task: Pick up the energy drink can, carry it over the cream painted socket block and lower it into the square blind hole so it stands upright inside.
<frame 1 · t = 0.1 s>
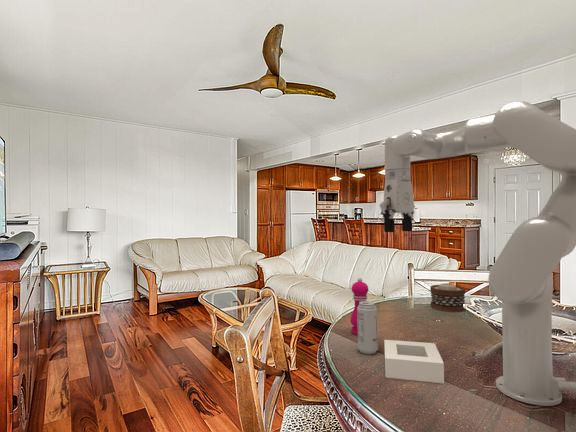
hand: (398, 231, 104), 37 cm above the table, tool pointing down, fingers open, 9 cm apart
pepper mill: (360, 333, 122), on the table
socket block: (411, 368, 92), on the table
energy drink can: (367, 351, 105), on the table
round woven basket: (448, 308, 154), on the table
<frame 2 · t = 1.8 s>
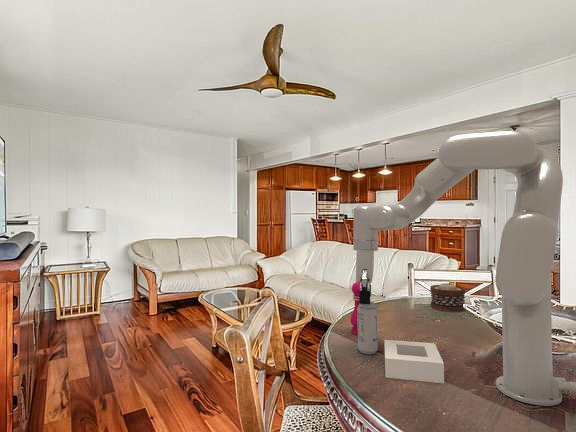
hand: (365, 300, 106), 16 cm above the table, tool pointing down, fingers open, 9 cm apart
nothing on the table moved.
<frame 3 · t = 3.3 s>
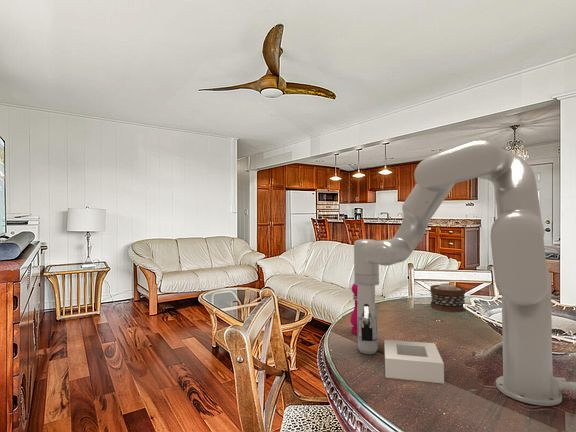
hand: (367, 336, 105), 5 cm above the table, tool pointing down, fingers closed on energy drink can, 6 cm apart
energy drink can: (367, 351, 105), on the table, touching gripper
everything else where it was.
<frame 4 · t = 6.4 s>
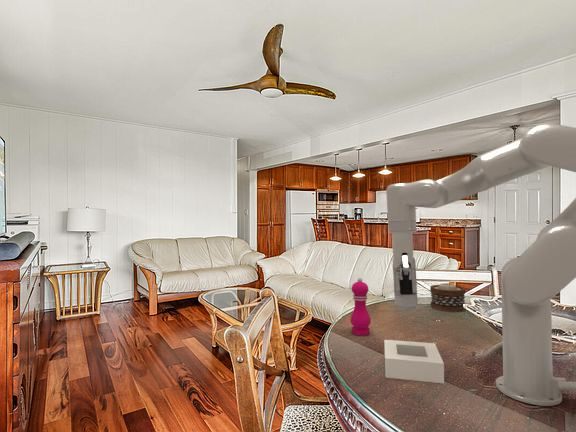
hand: (405, 291, 94), 21 cm above the table, tool pointing down, fingers closed on energy drink can, 6 cm apart
energy drink can: (406, 308, 94), point 16 cm above the table, touching gripper
everything else where it was.
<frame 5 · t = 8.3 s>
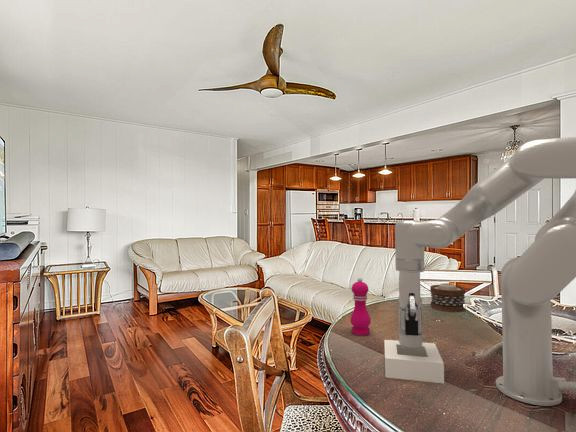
hand: (410, 330, 93), 10 cm above the table, tool pointing down, fingers closed on energy drink can, 6 cm apart
energy drink can: (410, 347, 92), point 6 cm above the table, touching gripper
everything else where it was.
when the fingers open (7 cm above the table, at t = 9.6 s): energy drink can drops 1 cm, resting on socket block.
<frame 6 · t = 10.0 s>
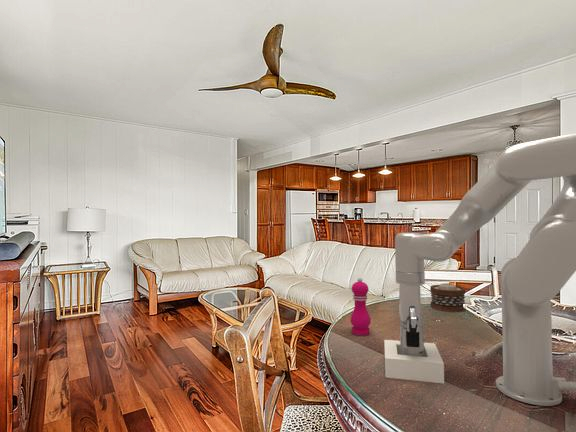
hand: (411, 340, 92), 8 cm above the table, tool pointing down, fingers open, 9 cm apart
energy drink can: (412, 365, 92), point 1 cm above the table, touching socket block
everything else where it was.
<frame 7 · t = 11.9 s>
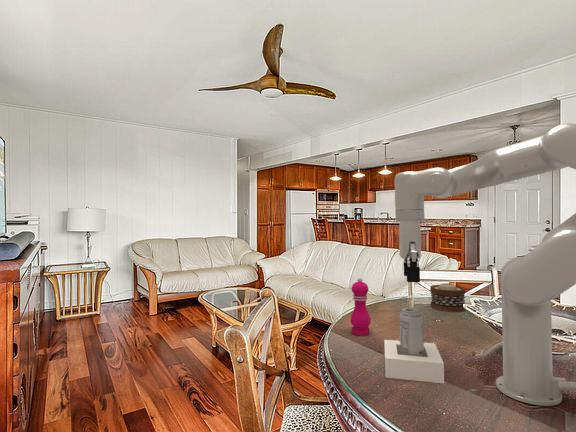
hand: (411, 278, 93), 25 cm above the table, tool pointing down, fingers open, 9 cm apart
nothing on the table moved.
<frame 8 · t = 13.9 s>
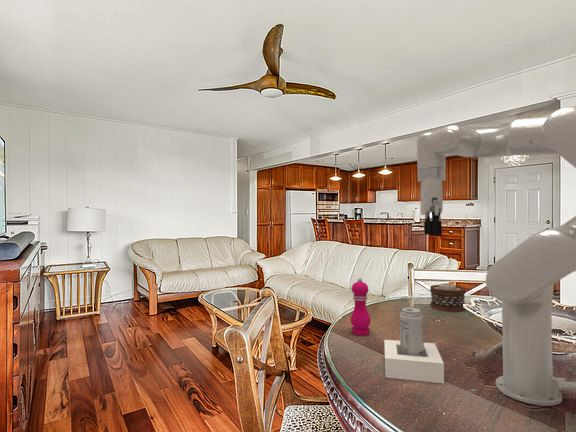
hand: (432, 235, 98), 36 cm above the table, tool pointing down, fingers open, 9 cm apart
nothing on the table moved.
at the end: energy drink can 0.2 cm off-centre on the socket block, point 0.9 cm above the socket block's base; energy drink can tilted 0°; the gripper is holding nothing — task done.
